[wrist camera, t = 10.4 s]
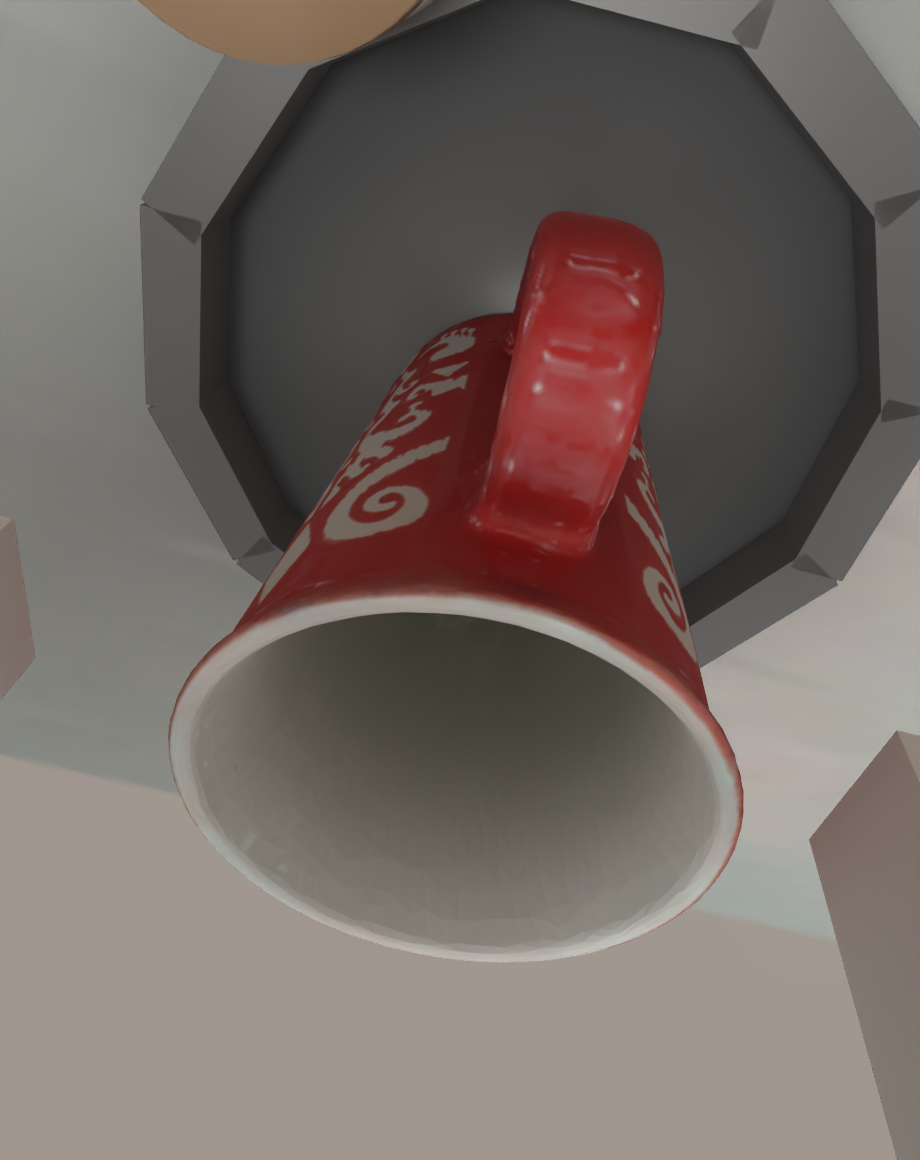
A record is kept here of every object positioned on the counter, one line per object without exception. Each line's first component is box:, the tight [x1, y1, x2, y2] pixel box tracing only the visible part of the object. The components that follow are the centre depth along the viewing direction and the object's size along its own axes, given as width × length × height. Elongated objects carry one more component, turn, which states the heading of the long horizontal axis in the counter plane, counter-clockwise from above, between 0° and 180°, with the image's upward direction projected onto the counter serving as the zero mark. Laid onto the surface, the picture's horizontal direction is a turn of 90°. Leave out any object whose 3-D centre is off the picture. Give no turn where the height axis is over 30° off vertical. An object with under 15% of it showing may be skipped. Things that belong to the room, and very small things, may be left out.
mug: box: [168, 211, 743, 962], centre depth 17 cm, size 13×9×14 cm
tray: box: [140, 0, 920, 668], centre depth 22 cm, size 20×20×3 cm
